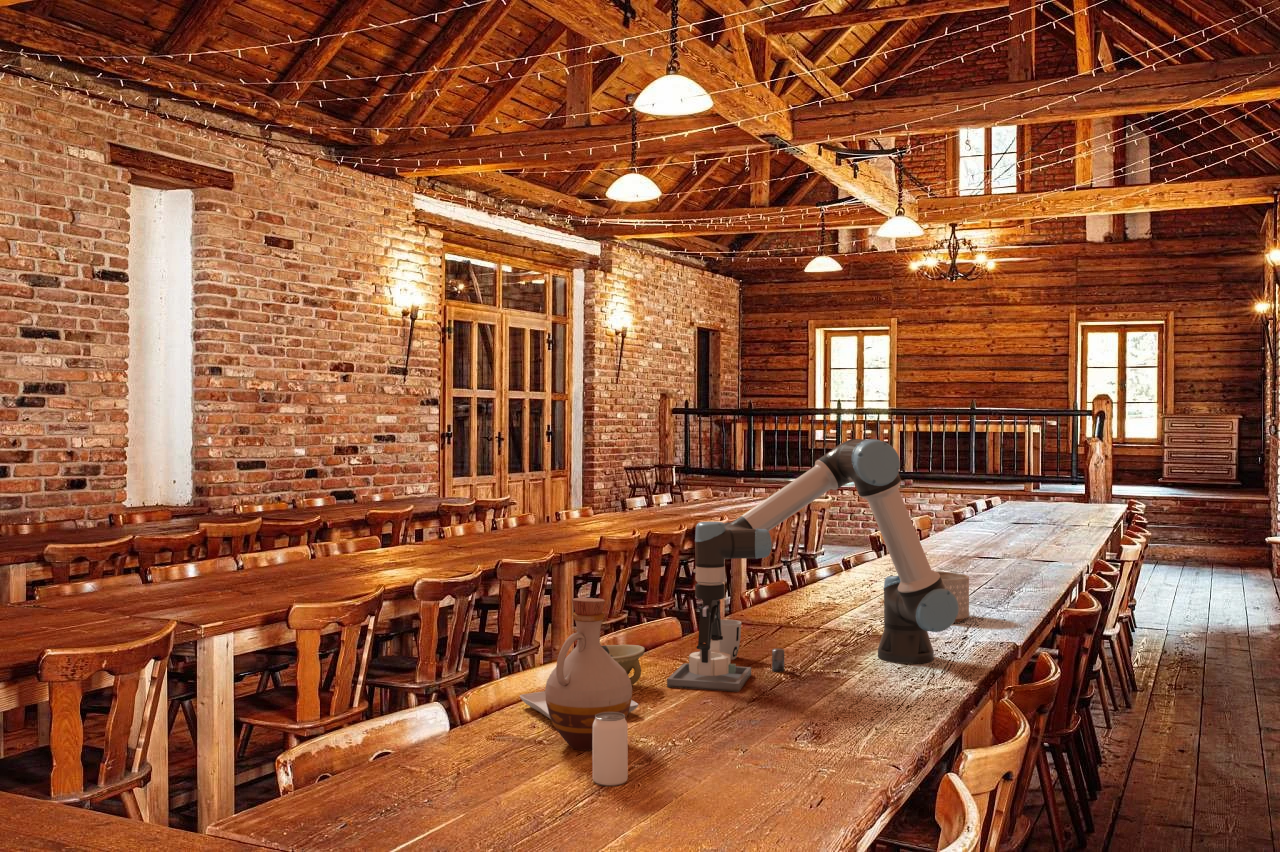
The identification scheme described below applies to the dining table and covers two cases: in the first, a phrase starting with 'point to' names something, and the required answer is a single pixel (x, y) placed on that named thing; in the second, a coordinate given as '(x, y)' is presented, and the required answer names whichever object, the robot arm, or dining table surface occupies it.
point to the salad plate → (540, 705)
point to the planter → (958, 591)
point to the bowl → (627, 658)
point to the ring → (712, 663)
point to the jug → (585, 679)
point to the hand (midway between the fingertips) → (710, 670)
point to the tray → (709, 679)
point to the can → (610, 749)
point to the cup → (730, 637)
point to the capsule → (778, 660)
